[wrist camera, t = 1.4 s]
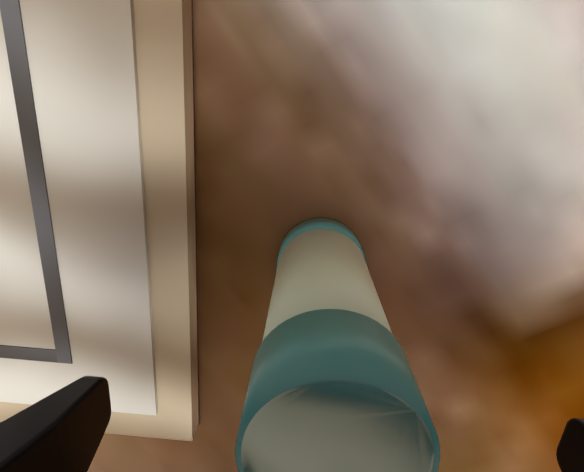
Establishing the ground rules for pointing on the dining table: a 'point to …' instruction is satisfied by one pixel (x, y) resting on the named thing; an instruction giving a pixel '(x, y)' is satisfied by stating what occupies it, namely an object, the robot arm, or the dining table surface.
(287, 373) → the teal-banded white cylinder
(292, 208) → the dining table surface
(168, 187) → the board
